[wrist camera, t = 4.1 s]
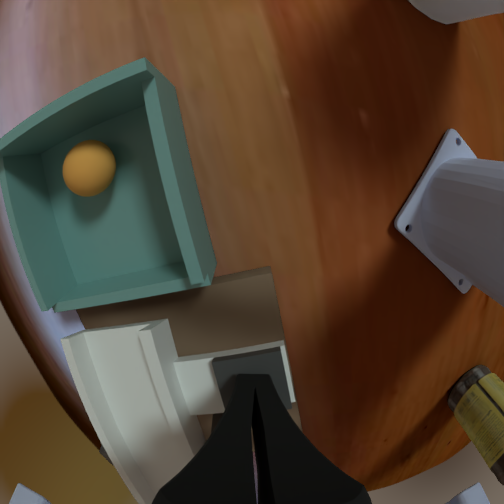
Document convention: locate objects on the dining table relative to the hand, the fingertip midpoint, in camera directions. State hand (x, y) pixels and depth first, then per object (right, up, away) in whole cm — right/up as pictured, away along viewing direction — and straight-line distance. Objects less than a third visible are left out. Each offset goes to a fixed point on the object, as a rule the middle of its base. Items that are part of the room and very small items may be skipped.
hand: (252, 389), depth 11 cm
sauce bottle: (+23, -8, +10) cm, 27 cm away
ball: (-8, +10, +1) cm, 13 cm away
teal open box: (-8, +9, +4) cm, 13 cm away
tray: (-2, -5, +4) cm, 7 cm away
